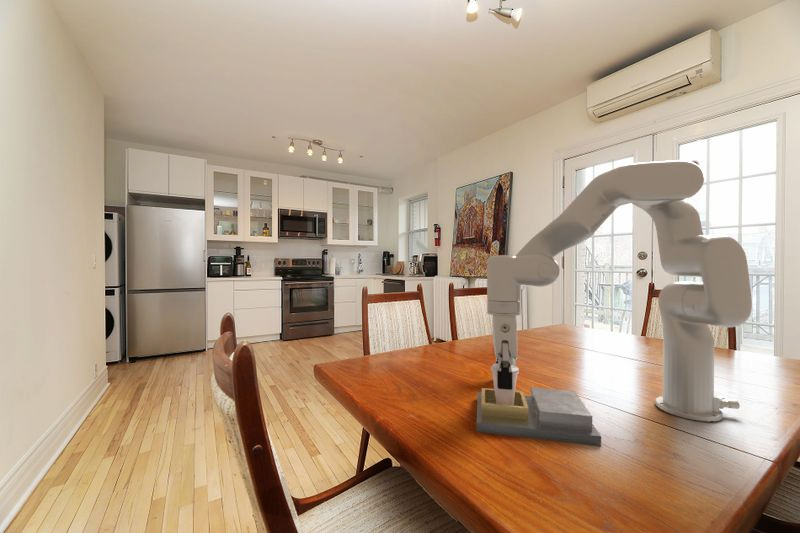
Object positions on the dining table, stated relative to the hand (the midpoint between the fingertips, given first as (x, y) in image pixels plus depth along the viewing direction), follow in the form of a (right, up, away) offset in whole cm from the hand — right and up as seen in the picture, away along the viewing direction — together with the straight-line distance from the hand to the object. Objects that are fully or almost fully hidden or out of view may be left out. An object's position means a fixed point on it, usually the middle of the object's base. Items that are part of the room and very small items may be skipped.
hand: (503, 382), depth 79 cm
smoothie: (0, -6, 0) cm, 6 cm away
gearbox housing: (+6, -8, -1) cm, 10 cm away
